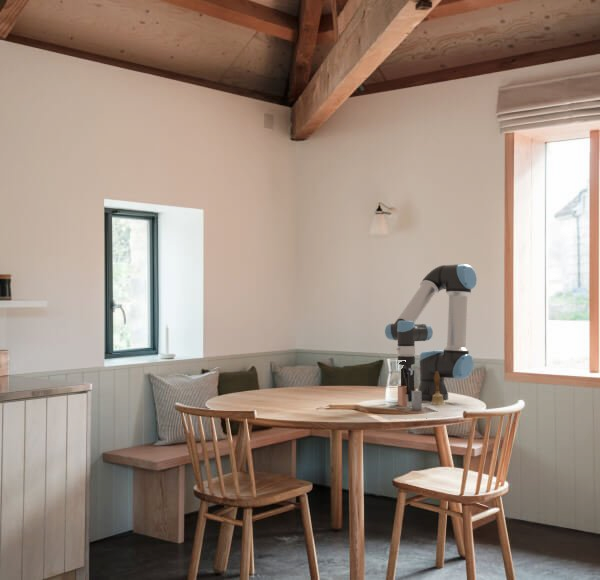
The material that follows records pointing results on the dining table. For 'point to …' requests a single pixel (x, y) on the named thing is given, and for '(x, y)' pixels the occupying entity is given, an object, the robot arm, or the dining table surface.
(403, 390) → the pink upright block
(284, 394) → the dining table surface
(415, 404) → the post
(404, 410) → the board
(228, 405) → the dining table surface
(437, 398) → the hand bell
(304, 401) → the dining table surface
